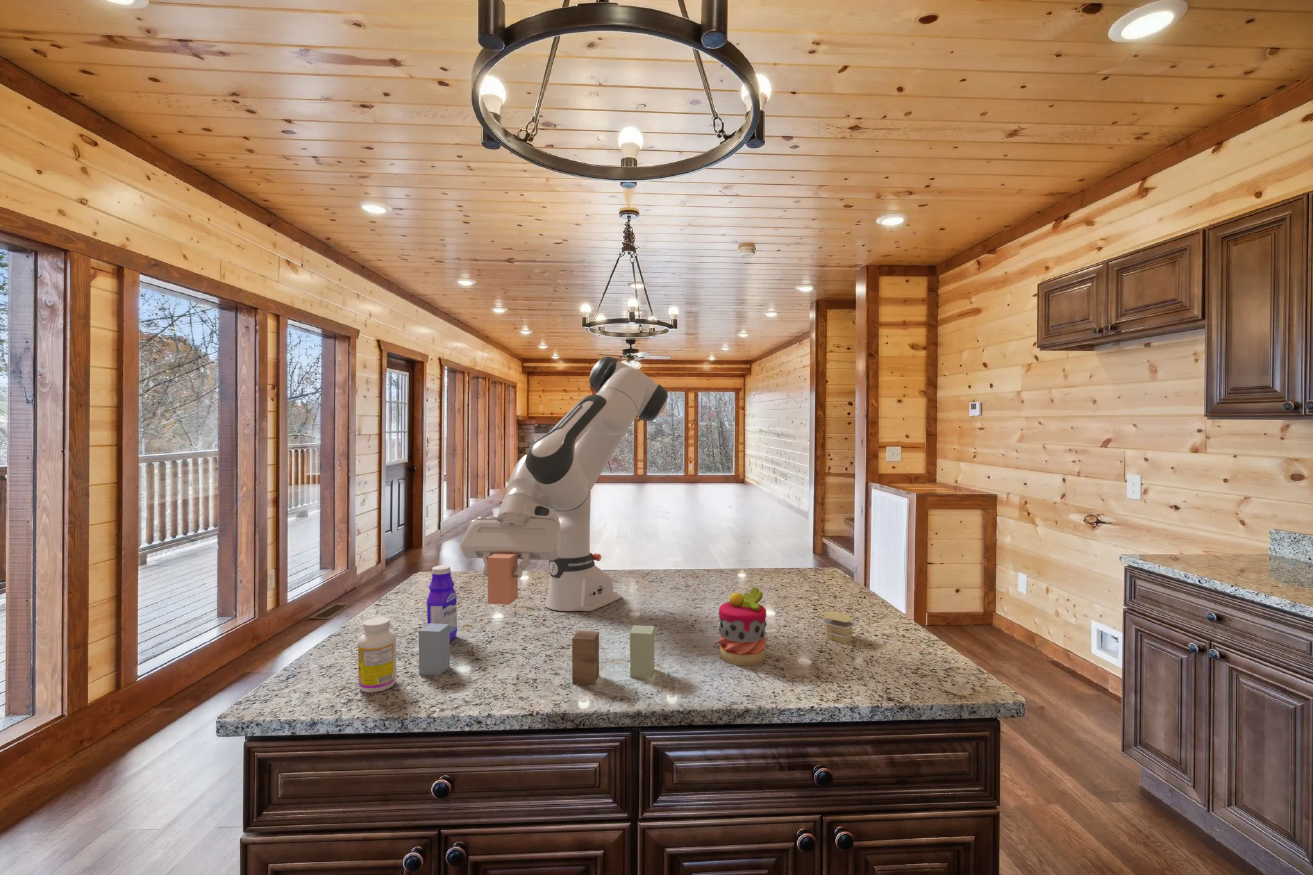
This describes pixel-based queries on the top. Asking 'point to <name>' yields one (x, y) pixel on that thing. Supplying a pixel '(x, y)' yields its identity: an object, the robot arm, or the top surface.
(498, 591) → the terracotta block
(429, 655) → the slate block
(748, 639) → the cake
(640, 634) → the sage block
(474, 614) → the top surface
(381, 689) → the supplement bottle
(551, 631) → the top surface
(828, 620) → the pale yellow layered block
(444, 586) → the bottle
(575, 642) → the walnut block
